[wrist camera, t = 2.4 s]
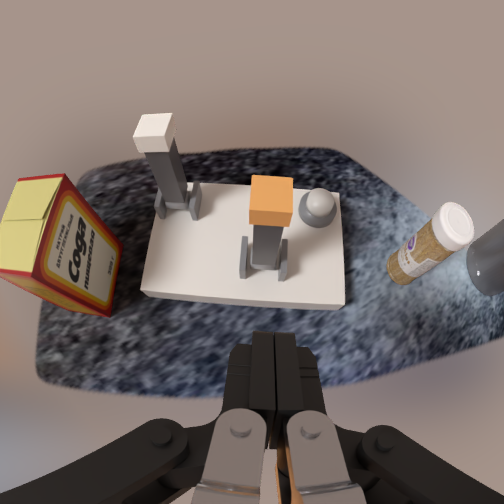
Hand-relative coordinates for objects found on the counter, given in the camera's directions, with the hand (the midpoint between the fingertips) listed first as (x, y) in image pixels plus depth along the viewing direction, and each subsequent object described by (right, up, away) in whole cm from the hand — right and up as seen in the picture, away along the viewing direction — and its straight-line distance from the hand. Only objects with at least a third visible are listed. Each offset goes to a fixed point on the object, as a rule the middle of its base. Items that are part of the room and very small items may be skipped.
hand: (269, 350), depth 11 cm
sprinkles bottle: (+18, +1, +25) cm, 31 cm away
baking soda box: (-21, 0, +24) cm, 31 cm away
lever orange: (0, +2, +21) cm, 21 cm away
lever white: (-9, +9, +24) cm, 27 cm away
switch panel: (-1, +4, +25) cm, 26 cm away
